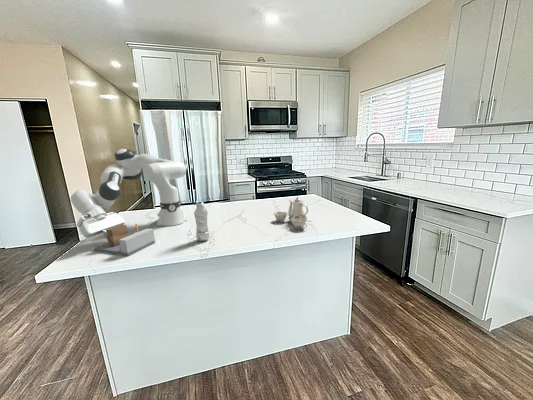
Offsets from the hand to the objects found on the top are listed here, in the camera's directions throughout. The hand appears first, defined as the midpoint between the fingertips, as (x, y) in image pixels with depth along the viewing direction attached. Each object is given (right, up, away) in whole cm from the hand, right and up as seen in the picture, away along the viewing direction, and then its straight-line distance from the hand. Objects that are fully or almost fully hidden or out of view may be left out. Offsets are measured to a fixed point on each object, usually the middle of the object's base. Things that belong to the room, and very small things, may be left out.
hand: (113, 236), depth 122 cm
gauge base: (+7, -5, -1) cm, 8 cm away
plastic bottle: (+44, -3, +4) cm, 44 cm away
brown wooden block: (+3, -3, +2) cm, 5 cm away
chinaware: (+93, +4, +26) cm, 97 cm away
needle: (+11, -2, +3) cm, 11 cm away
